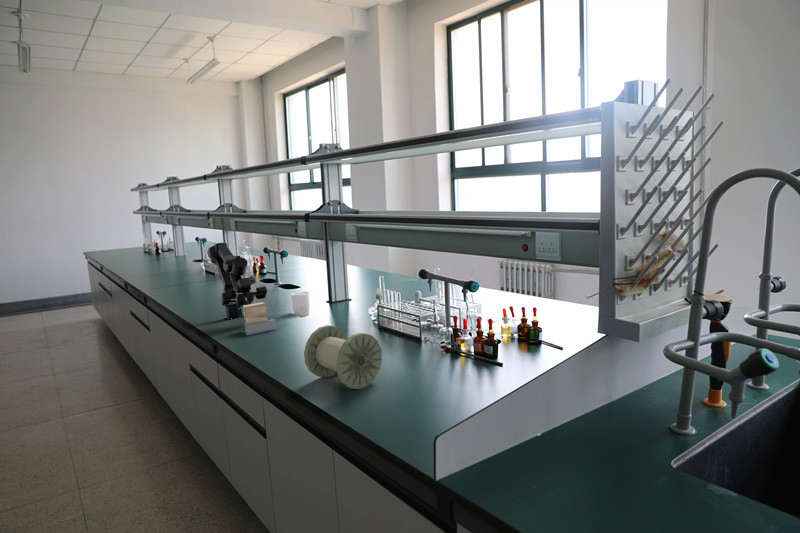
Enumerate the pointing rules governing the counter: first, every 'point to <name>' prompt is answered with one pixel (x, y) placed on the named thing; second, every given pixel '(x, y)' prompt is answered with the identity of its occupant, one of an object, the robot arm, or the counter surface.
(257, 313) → the block
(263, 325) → the grey rectangular bar
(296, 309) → the white cup
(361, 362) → the spool
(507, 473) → the counter surface
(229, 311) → the robot arm
